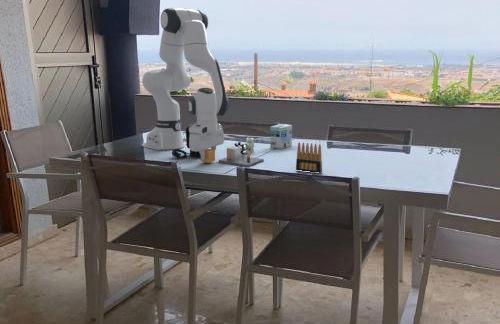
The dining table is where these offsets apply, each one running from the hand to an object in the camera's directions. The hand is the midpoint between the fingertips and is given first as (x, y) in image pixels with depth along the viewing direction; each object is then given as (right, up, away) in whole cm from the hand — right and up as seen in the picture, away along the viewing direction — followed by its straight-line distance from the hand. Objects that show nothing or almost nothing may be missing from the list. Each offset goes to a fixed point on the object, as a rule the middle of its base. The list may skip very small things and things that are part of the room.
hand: (207, 157), depth 206 cm
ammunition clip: (+42, -6, -16) cm, 45 cm away
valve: (+16, +2, +19) cm, 25 cm away
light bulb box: (+34, +6, +33) cm, 48 cm away
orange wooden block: (0, -2, 0) cm, 2 cm away
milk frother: (-9, 0, +13) cm, 16 cm away
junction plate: (+15, -2, +2) cm, 15 cm away
